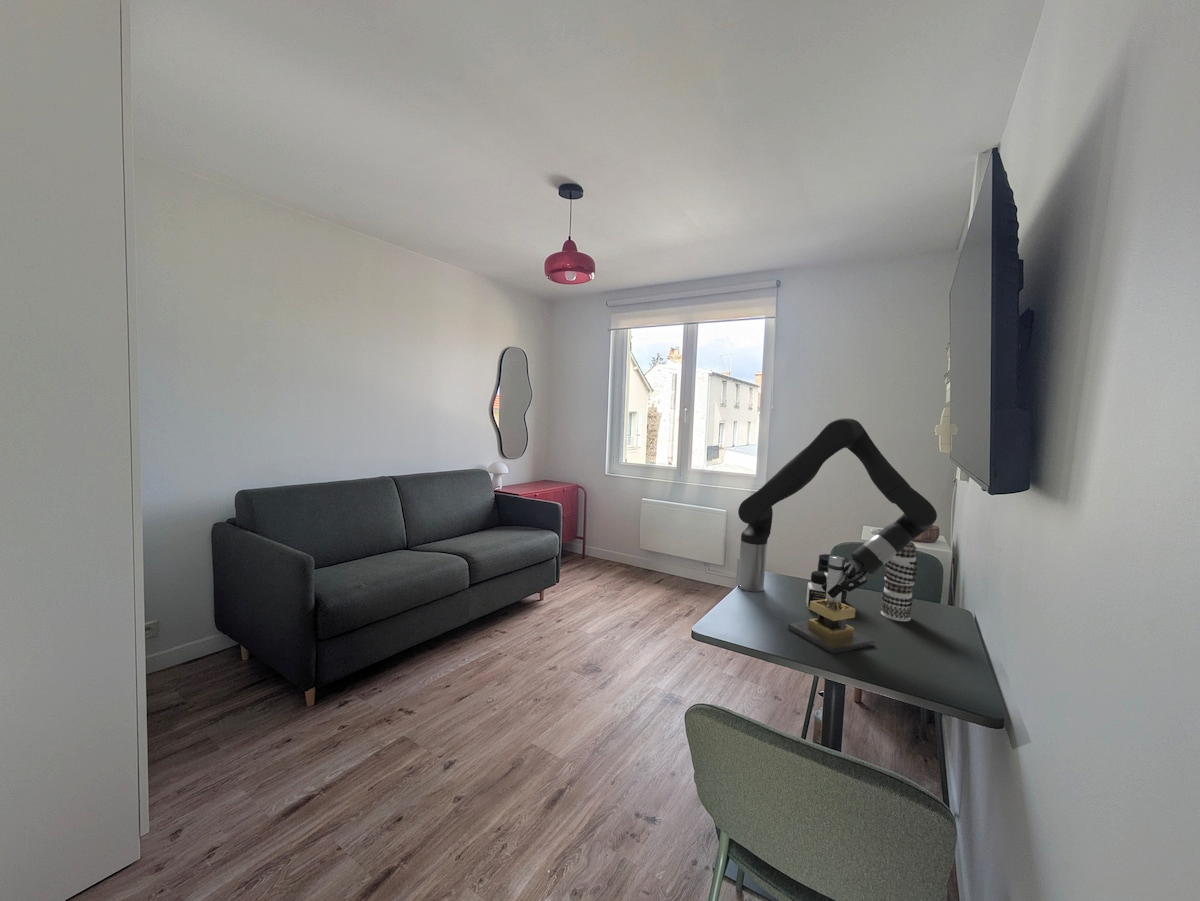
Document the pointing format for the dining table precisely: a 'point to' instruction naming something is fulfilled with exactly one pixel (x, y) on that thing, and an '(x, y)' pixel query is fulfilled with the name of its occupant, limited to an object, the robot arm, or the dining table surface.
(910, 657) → the dining table surface
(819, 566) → the storage jar
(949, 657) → the dining table surface
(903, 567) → the decorative candle
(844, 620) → the collar stand
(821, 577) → the medicine bottle
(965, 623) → the dining table surface
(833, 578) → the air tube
